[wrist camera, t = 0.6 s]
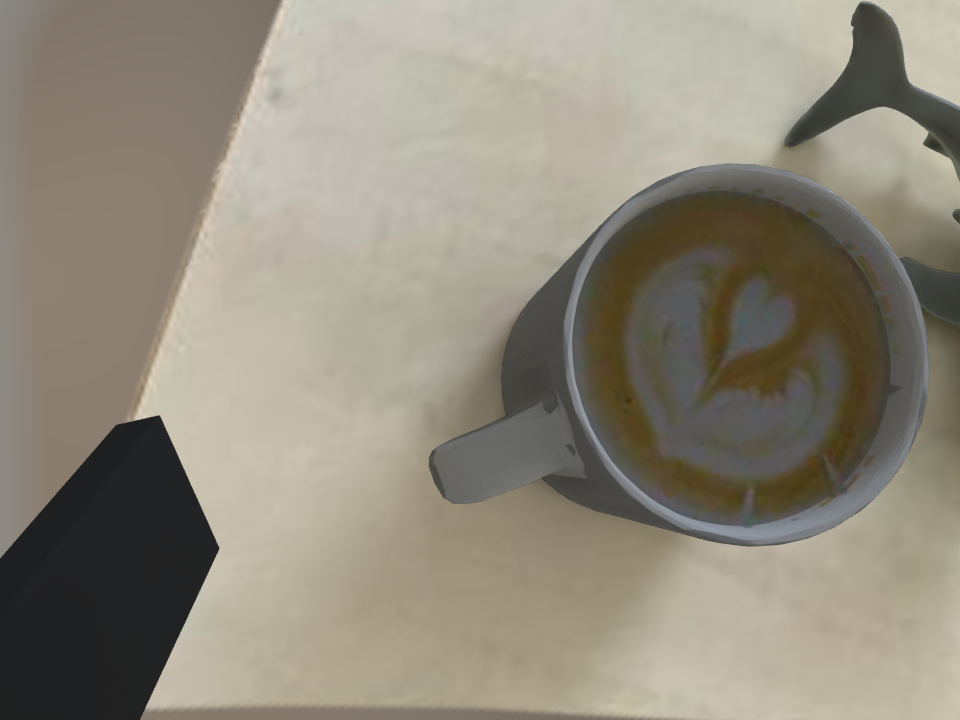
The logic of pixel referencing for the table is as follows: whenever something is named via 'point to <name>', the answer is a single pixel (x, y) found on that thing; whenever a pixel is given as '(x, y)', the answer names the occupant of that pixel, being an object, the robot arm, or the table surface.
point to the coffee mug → (711, 365)
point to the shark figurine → (884, 83)
